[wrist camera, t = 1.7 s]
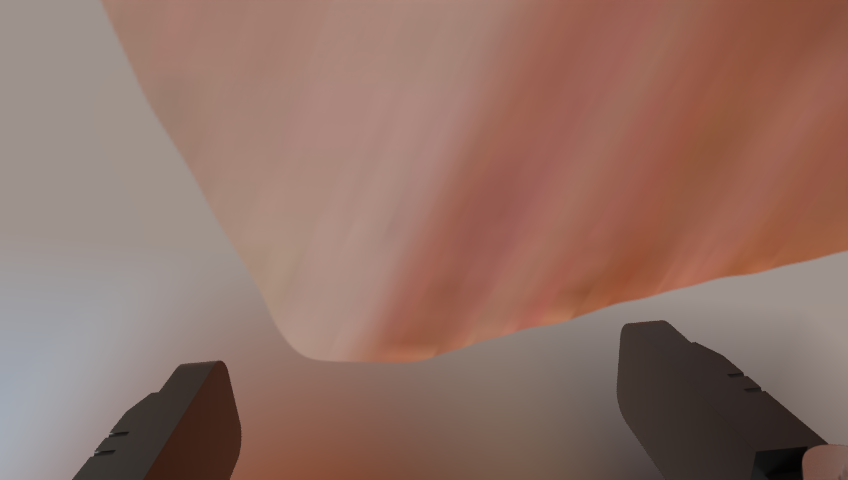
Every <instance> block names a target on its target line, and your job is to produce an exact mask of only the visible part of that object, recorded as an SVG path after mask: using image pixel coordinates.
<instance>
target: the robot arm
mask: <svg viewBox="0 0 848 480" xmlns="http://www.w3.org/2000/svg"><path fill="white" fill-rule="evenodd" d="M617 399H618V403H619V408H620V411H621V413H622V416H623V418H624V419H625V421H626V423H627V424H628V426H629V427H630V429H631V430H632V432H633V433H634V434H635V436H636V438H637V439H638V441H639V442H640V443H641V445H642V446H643V448H644V449H645V451H646V452H647V454H648V455H649V457H650V458H651V459H652V461H653V463H654V464H655V466H656V467H657V468H658V470H659V471H660V473H661V474H662V476H663V477H664V479H665V480H848V446H844V445H831V444H828V443H827V442H826V441H824V440H823V439H822V438H821V437H820V436H818V435H817V434H816V433H815V432H814V431H812V430H811V429H810V428H809V427H808V426H806V425H805V424H804V423H803V422H801V421H800V420H799V419H798V418H797V417H796V416H795V415H793V414H792V413H791V412H790V411H788V410H787V409H786V408H785V407H784V406H782V405H781V404H780V403H779V402H778V401H777V400H775V399H774V398H773V397H772V396H771V395H769V394H768V393H767V392H766V391H762V390H761V387H760V386H759V385H757V384H756V383H755V382H754V381H753V380H752V379H750V378H749V377H748V376H744V374H743V372H742V371H741V370H740V369H738V368H737V367H736V366H735V365H734V364H732V363H731V362H730V361H729V360H728V359H726V358H725V357H724V356H723V355H721V354H719V353H717V352H715V351H713V350H710V349H708V348H706V347H704V346H702V345H700V344H698V343H696V342H693V343H691V342H690V341H688V340H687V339H686V338H685V337H684V336H683V335H682V334H681V333H679V332H678V331H677V330H676V329H675V328H674V327H673V326H672V325H670V324H669V323H668V322H666V321H663V320H660V321H649V322H639V323H628V324H625V325H624V326H623V328H622V331H621V337H620V350H619V363H618V377H617ZM240 448H241V425H240V420H239V416H238V412H237V407H236V403H235V399H234V395H233V390H232V386H231V382H230V377H229V374H228V369H227V367H226V365H225V363H224V362H223V361H209V362H200V363H188V364H181V365H180V366H178V367H177V369H176V370H175V371H174V372H173V374H172V375H171V377H170V378H169V379H168V381H167V382H166V383H165V385H164V386H163V388H162V389H161V390H160V391H159V392H157V393H151V394H149V395H148V396H147V397H146V398H144V399H143V400H141V401H140V402H139V403H137V404H136V405H135V406H133V407H132V408H131V409H129V410H128V411H127V412H126V413H125V414H124V415H123V416H122V418H121V419H120V420H119V422H118V423H117V424H116V425H115V427H114V428H113V429H112V431H111V432H110V433H109V437H108V438H105V439H104V440H103V442H102V443H101V444H100V445H99V447H98V448H97V449H96V451H95V452H94V457H90V458H89V459H88V460H87V462H86V463H85V464H84V465H83V467H82V468H81V469H80V471H79V472H78V473H77V474H76V475H75V477H74V478H73V479H72V480H230V477H231V475H232V472H233V470H234V467H235V465H236V462H237V460H238V457H239V453H240Z"/></svg>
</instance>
